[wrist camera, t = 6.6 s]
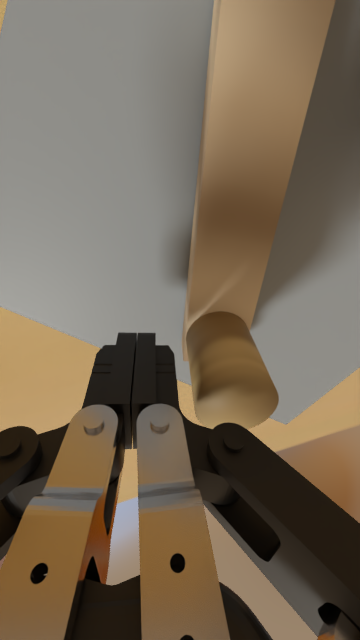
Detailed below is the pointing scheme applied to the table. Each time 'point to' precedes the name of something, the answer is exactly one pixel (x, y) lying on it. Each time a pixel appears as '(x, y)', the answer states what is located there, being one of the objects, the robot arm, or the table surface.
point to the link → (244, 192)
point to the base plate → (167, 186)
